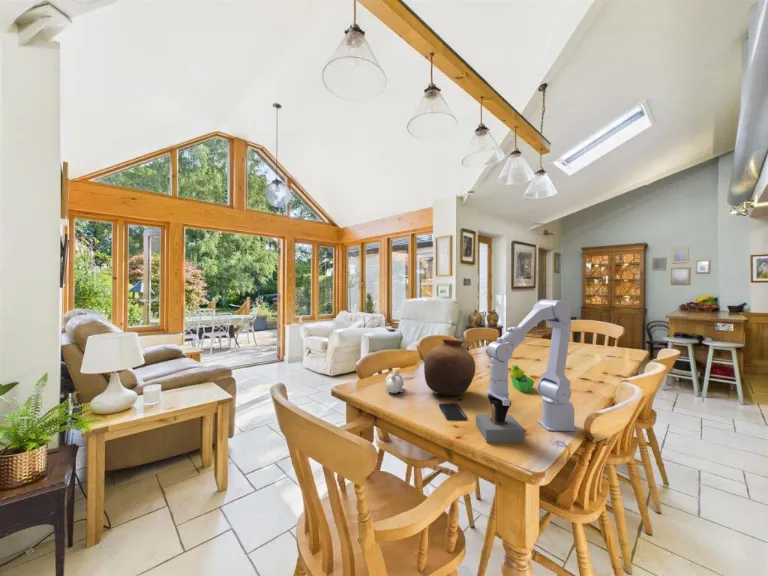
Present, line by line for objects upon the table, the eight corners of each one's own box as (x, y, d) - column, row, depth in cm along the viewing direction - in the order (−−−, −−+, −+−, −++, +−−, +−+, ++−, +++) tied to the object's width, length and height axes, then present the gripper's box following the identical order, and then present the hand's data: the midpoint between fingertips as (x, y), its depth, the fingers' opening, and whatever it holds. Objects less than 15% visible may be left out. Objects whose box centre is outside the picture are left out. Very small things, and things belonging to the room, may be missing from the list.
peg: (501, 426, 109) (501, 403, 109) (504, 431, 106) (504, 406, 106) (491, 426, 109) (491, 403, 109) (494, 431, 106) (494, 406, 106)
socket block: (510, 425, 114) (510, 414, 114) (524, 442, 102) (524, 429, 102) (475, 425, 114) (475, 414, 114) (486, 442, 102) (486, 429, 102)
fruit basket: (535, 392, 148) (535, 368, 148) (516, 392, 149) (516, 368, 149) (525, 385, 160) (525, 362, 160) (507, 385, 160) (507, 362, 160)
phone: (457, 403, 134) (467, 418, 119) (457, 406, 134) (467, 421, 119) (438, 403, 133) (446, 418, 118) (438, 406, 133) (446, 421, 118)
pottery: (421, 400, 139) (421, 342, 139) (427, 384, 162) (427, 334, 162) (476, 404, 134) (476, 344, 134) (474, 387, 156) (474, 335, 156)
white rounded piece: (396, 375, 144) (395, 363, 159) (381, 384, 144) (380, 371, 159) (407, 393, 145) (405, 379, 160) (392, 402, 145) (391, 387, 160)
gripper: (480, 372, 115) (480, 411, 115) (493, 385, 100) (493, 429, 101) (500, 372, 115) (500, 411, 115) (516, 385, 100) (516, 429, 100)
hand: (498, 419), depth 108 cm, fingers closed on peg, 3 cm apart
